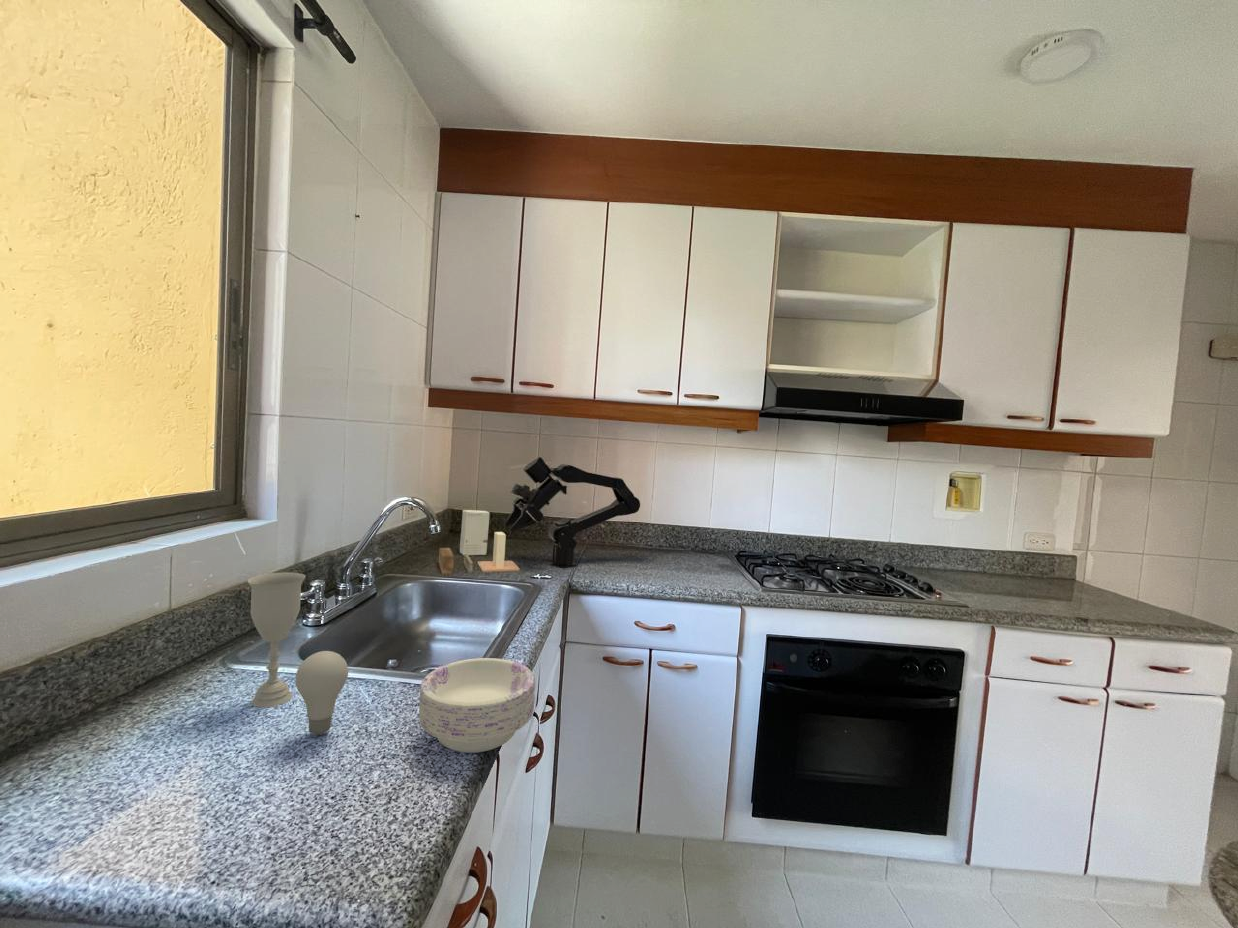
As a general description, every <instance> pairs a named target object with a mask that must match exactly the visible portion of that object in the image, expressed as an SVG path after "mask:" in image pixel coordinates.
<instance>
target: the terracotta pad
mask: <svg viewBox="0 0 1238 928" xmlns="http://www.w3.org/2000/svg"><path fill="white" fill-rule="evenodd" d="M477 565H478V566H479V568H480V569H481V571H482V573H487V572H490V573H491V572H517V571H518V572H519V571H520V568H519V566H517V564H516V563H515V562H514V561H513V560H504V567H495V566H494V564H493V560H490V561H489V560H486V561H485V560H484V561H483V560H482V561H477Z"/></svg>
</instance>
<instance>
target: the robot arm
mask: <svg viewBox="0 0 1238 928" xmlns="http://www.w3.org/2000/svg"><path fill="white" fill-rule="evenodd" d="M523 472H525V474H526V475H527V476H528V477H529V478H530V479H531V480H532V481H533V483H534V484H537V483H538V484H540V485H539V486H538V487H537V488H533V489H531V490H530V486H529V485H527V484H523V485H520V484H517V483H515V484H514V485H513V487H512V489H511V491H510V493H512V494H514V495H516V496H519V497H516V498H515V499H514V500H513V503H512V507H513V508H512V511H511V513H510V515H508V517H507V519H506V521H505V522H504V526H505V527H509V526H511V525H512V526H511V527H510V531H511V532H516V531H518V530H521V529H523V528H525V527H530V526H532V525H534V524H535V525H536V524H537V523H539V524H540V522H542V520H544V513H543V512H542V511H541V510H542V509H543V508H544V507H545V506H549V505H550V504H551V503H550V502H551V500H553V498H554V497H556V495H557V494H559V493H561V494H563V495H567V488H568V486H567V485H563V484H562V483H561V482H564V483H566V484H570V483H571V484H581V483H582V484H583V483H585V484H590V485H595V486H600V487H605V488H610V489H612V493H613V495H614V497H615V499H614V501H612V502H611V503H610V504H609V505H607V506H604V507H602V508H599V509H597V510H594V511H592V512H590V513H587V514H585V515H583V516H580V517H577V518H575V519H573V520H571V519H569V518H567V517H562V518H560V519H559V520H557V521H556V520H554V521H553V523H552V524H551V525H550V526H549V528H548V532H547V533H548V536H549V537H548V538H550V539H551V540H552V542H553V549H552V562H549V563H548V564H549V565H551V566H555V567H559V568H563V569H564V568H569V567H573V566H574V567H575V566H577V563H575V562H574V554H575V549H576V546H577V541H576V540H575V539H574V538H575V537H576V536H577V535H578V534H579V533H580V532H583V531H585V530H587V529H590V528H592V527H594V526H596V525H599V524H601V523H604V522H606V521H609V520H610V519H613V518H616V517H623V516H628V515H632V514H636V513H638V511H640V509H641V501H640V500H639V498H638V497H636V496H635V495H634V493H633V492H632V490H630V488H629V487H628V486H627V484H626V482H625V481H624V479H623V478H620V477H616V476H615V477H612V476H608V475H602V474H597V473H594V472H588V471H585V470H584V469H581V468H579V467H576V466H574V465H572V464H571V465H570V464H565V463H561V464H559V465H558V466H557V467H549V465H548V464H547V463H546V462H545V461H544V459H543V458H542V457H541V456H538V457H537V458H536V459H534V460H532V461H531V462H529V463H528V464H526V465H525V467H524V468H523ZM552 476H553V477H556V479H555V478H553V477H552Z"/></svg>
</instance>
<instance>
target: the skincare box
mask: <svg viewBox="0 0 1238 928" xmlns="http://www.w3.org/2000/svg"><path fill="white" fill-rule="evenodd" d="M461 518H462V519H461V530H460V531H461V532H460V543H459V553H460V554H461V555H462V556H463V557H464V554H468V556H485V555H487V551H488V550H487V549H488V541H489V540H488V537H489V528H490V527H489V525H490V512H489V511H488V510H487V511H486V510H475V509H463V510H462V517H461Z"/></svg>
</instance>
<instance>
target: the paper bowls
mask: <svg viewBox="0 0 1238 928" xmlns="http://www.w3.org/2000/svg"><path fill="white" fill-rule="evenodd" d="M535 690H536V679H535V674H534V673H533V672H532V670H530V669H529V668H528V667H527V666H525V665H524V664H522V663H521V662H516V661H514V660H509V659H503V658H496V657H495V658H494V657H493V658H491V657H481V658H480V657H478V658H470V659H469V658H468V659H463V660H458V661H454V662H450V663H447V664H444V665H441V666H438V667H437V668H436V669H434V670H431V671H430V672H429V673H428V674H427V675H425V677H424V678H423V679H422V681H421V683H420V685H419V700H418V701H419V703H418V704H419V705H418V706H419V707H418V708H419V709H418V712H419V713H418V714H419V715H418V718H419V723H420V726H421V728H423V730H424V731H425V732H426V733H427V734H429V735H430V736H431V737H435V738H436V739H437V740H438V742H439V743H440V744H441V745H443V746H444V747H445V748H447V749H448V750H449V749H450V750H451V751H454V752H459V753H467V754H468V753H470V754H473V753H474V754H475V753H482V752H483V753H484V752H487V751H488V752H489V751H491V750H495V749H497V748H499V747H501V746H503V745H505V744H506V743H507V742H508V741H510V740H511V739H512V737H514V735H515V734H516V732H517V731H518V730H520V729H522V728H523V727H524V726H525V725H526V724H528V723H529V721H530V720H531V719H532V717H533V714H534V710H535V699H536V698H535V692H536V691H535Z"/></svg>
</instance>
